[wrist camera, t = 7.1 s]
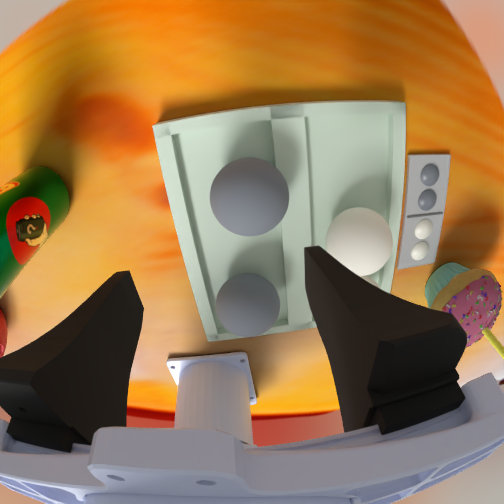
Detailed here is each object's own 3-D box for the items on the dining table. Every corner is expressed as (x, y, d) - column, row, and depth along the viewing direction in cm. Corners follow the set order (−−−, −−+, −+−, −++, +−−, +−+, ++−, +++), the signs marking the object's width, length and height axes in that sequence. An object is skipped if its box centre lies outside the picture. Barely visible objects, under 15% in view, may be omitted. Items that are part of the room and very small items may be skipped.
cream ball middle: (374, 248, 24) (399, 283, 20) (318, 257, 24) (335, 295, 20) (378, 194, 21) (408, 222, 17) (317, 200, 21) (337, 231, 17)
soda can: (41, 149, 18) (-74, 226, 8) (84, 196, 20) (-7, 303, 10) (12, 194, 19) (-84, 282, 9) (51, 236, 22) (-27, 343, 11)
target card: (433, 260, 25) (435, 263, 25) (396, 267, 25) (398, 270, 25) (448, 153, 20) (451, 155, 20) (407, 154, 20) (410, 155, 20)
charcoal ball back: (277, 303, 26) (286, 345, 22) (221, 311, 26) (221, 353, 22) (273, 256, 23) (282, 296, 19) (211, 265, 23) (208, 306, 19)
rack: (380, 304, 28) (386, 313, 26) (208, 331, 28) (208, 341, 26) (396, 100, 18) (405, 102, 17) (157, 122, 18) (152, 125, 17)
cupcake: (486, 253, 26) (556, 330, 15) (448, 317, 30) (499, 398, 20) (432, 237, 24) (515, 331, 14) (392, 312, 28) (444, 413, 18)
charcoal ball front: (263, 209, 22) (307, 231, 19) (204, 232, 20) (241, 261, 17) (255, 145, 20) (303, 156, 16) (190, 163, 18) (228, 177, 14)
